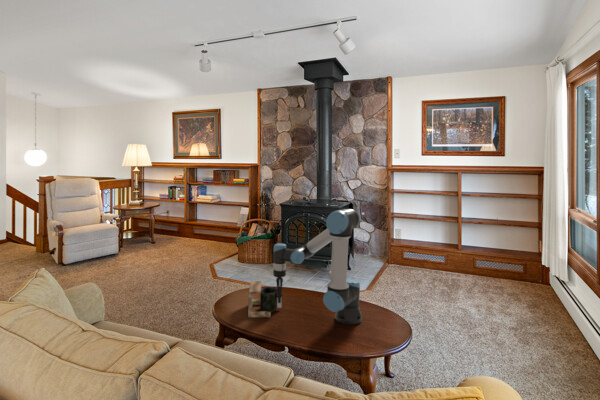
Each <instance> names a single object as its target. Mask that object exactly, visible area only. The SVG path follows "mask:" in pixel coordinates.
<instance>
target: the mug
mask: <svg viewBox="0 0 600 400" xmlns="http://www.w3.org/2000/svg"><path fill="white" fill-rule="evenodd" d="M276 296H277V287H272V286H271V287H269V286H268V287H261V294H260V297H259V298H260V299H259V300H260V305H259V306H260V307H259V308H260V311H268V312H271V313H273V312H275V311H276V310H277V309H278V308H277V298H276Z"/></svg>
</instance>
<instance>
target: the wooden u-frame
mask: <svg viewBox="0 0 600 400" xmlns="http://www.w3.org/2000/svg"><path fill="white" fill-rule="evenodd" d="M261 289H262V280H251V281H250V283H249V290H248V295H247V298H248V299H247V301H248V310H247V312H248V315H247V316H248V318H270V319H271V317H272V314H271V313H272V312H268V311H261V310H260V311H259V310H258V311H253V306H260V299H254V296H253V295H256V294H261Z"/></svg>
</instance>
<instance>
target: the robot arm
mask: <svg viewBox="0 0 600 400" xmlns="http://www.w3.org/2000/svg"><path fill="white" fill-rule="evenodd" d="M359 223H360V215H359V213H358V212H357V210H355V209H352V208H344V209H337V210H334V211H332V212H331V213H329V215H328V216H327V218H326V223H325V225H326V229H324V230H323V231H322V232H320V233H319V234H318V235H316V236H315V237H313V238H312V239H311V240H308V241H307V243H305V244H304V245H303V246H299V247H297V248H294V249H293V248H287V244H285V243H275V244H274V245H273V251H272V252H273V263H272V266H273V270H272V271H273V272H272V273H273V276H274V277H275V278H276V279H275V281H276V289H277V296H276V298H277V309H278V308H279V309H280V308H282V305H283V303H282V298H283V295H284V294H283V293H282V291H283V282H284V280H283V279H284V277H286V275H287V263H293V264H296V265H297V264H298V265H300V264H302V263H303V262H304V261H305V259H309V258H311V257H313V256H314V255H315V254H316V253H317V252H318V251H319V250H321V249H322V248H324V247H325V246H327V245H328V244H330V243H331V260H330V261H331V263H330V281H329V282H327V287H326V288H327V289H326V290H327V291H326V292H325V293H324V294H323V296H322V297H323V298H322V300H323V304H324V305H325V306H324V307H326V309H328V310H329V311H330V312H333V313H335V316H334V317H335V320H336V322H338V323H340V324H343V325H348V326H349V325H350V326H351V325H358V324H360V323H362V321H363V320H362V319H363V316H362V313H361V308H360V293H361V292H360V291H361V285H360V284H361V283H360V281H358V280H356V279H351V278H348V277H347V276H348V259H349V257H348V255H349V241H350V240H349V239H350V238H351V237H352V233H353V230H354V229H355V228H357V226H358V225H359Z"/></svg>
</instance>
